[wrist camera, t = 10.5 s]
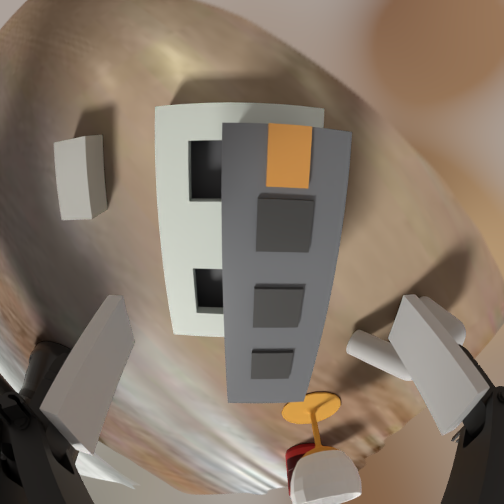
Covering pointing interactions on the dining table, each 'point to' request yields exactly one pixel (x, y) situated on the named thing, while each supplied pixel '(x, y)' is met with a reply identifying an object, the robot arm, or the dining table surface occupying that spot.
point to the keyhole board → (201, 202)
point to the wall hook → (384, 352)
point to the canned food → (295, 459)
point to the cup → (321, 457)
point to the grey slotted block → (278, 252)
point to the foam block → (80, 177)
